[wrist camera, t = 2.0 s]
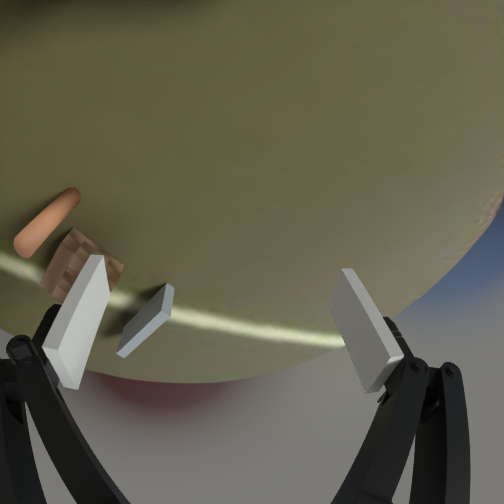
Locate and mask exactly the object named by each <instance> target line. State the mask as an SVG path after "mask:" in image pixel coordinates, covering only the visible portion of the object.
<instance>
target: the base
mask: <svg viewBox="0 0 504 504" xmlns="http://www.w3.org/2000/svg"><path fill="white" fill-rule="evenodd" d="M174 290H175V288H174V287H172V286H171V285H169V284H168V283H166V284H165V285H164V286H163V287H162V288H161V289H160V290H159V291H158V292H157V293H156V294H155V295H154V296H153V297H152V298H151V299H150V300H149V301H148V302H147V303H146V304H145V305H144V306H143V307H142V308H141V309H140V310H139V311H138V312H137V313H136V315H135V316H134V317H133V318H132V319H131V320H130V321H129V322H128V323H127V324H126V325H125V326H124V328H123V331H122V335H121V338H120V342H119V346H118V349H117V353H116V354H118V355H120V356H121V357H123V358H125V357H126V356H127V355H128V354H129V353H131V352H132V351H133V350H134V349H135V348H136V347H137V346H138V345H139V344H140V343H142V342H143V341H144V340H145V339H146V338H147V337H148V336H149V335H150V334H152V333H153V332H154V331H155V330H156V329H157V328H158V327H159V326H160V325H162V324H163V323H164V322H165V321H166V320H167V319H168V318H169V317H170V316H171V309H172V303H173V296H174Z"/></svg>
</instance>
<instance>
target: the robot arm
mask: <svg viewBox="0 0 504 504" xmlns="http://www.w3.org/2000/svg"><path fill="white" fill-rule="evenodd" d="M109 298H110V291H109V286H108V280H107V274H106V268H105V262H104V255H92V254H91V255H90V257H89V259H88V260H87V262H86V263H85V265H84V267H83V269H82V270H81V272H80V274H79V275H78V277H77V279H76V281H75V282H74V284H73V286H72V288H71V290H70V292H69V293H68V295H67V297H66V299H65V301H64V303H63V305H58V304H54V305H53V306H51V307H50V308H49V309H48V310H47V312H46V313H45V315H44V317H43V320H42V321H41V323H40V326H39V327H38V329H37V331H36V333H35V335H34V337H33V339H32V341H31V339H30V337H28V336H26V335H18V336H15V337H14V338H12V339H11V340H10V341H9V342H8V344H7V347H6V353H7V354H8V356H9V358H10V359H1V358H0V504H47V502H46V500H45V496H44V493H43V490H42V487H41V483H40V480H39V477H38V472H37V468H36V464H35V460H34V455H33V451H32V446H31V441H30V435H29V430H28V423H27V416H26V409H25V402H26V403H27V406H28V408H29V411H30V413H31V416H32V418H33V421H34V423H35V426H36V428H37V430H38V433H39V435H40V437H41V439H42V442H43V444H44V446H45V448H46V450H47V452H48V454H49V456H50V458H51V460H52V462H53V464H54V465H55V467H56V469H57V471H58V473H59V475H60V476H61V478H62V480H63V482H64V483H65V485H66V487H67V488H68V490H69V491H70V493H71V495H72V496H73V498H74V499H75V501H76V503H77V504H130V502H129V501H128V500H127V499H126V498H125V496H124V495H123V494H122V492H121V491H120V490H119V489H118V487H117V486H116V485H115V483H114V482H113V480H112V479H111V478H110V476H109V475H108V474H107V472H106V471H105V469H104V468H103V466H102V465H101V463H100V462H99V460H98V459H97V458H96V456H95V454H94V453H93V451H92V449H91V448H90V446H89V445H88V443H87V441H86V440H85V438H84V436H83V435H82V433H81V431H80V429H79V428H78V426H77V424H76V422H75V420H74V418H73V417H72V415H71V413H70V411H69V409H68V407H67V405H66V403H65V401H64V399H63V397H62V395H61V393H60V391H59V389H58V388H57V385H58V382H59V380H60V381H61V383H62V385H63V386H64V387H67V388H72V389H77V390H78V389H79V385H80V381H81V378H82V375H83V372H84V368H85V365H86V362H87V359H88V356H89V353H90V350H91V347H92V344H93V341H94V338H95V335H96V332H97V329H98V327H99V324H100V321H101V318H102V316H103V313H104V310H105V308H106V305H107V303H108V300H109ZM328 306H329V308H330V310H331V313H332V315H333V317H334V319H335V322H336V324H337V326H338V329H339V331H340V333H341V336H342V338H343V340H344V343H345V345H346V347H347V350H348V352H349V354H350V356H351V359H352V362H353V364H354V366H355V369H356V371H357V374H358V376H359V379H360V381H361V383H362V386H363V388H364V391H365V393H371V392H377V391H379V390H380V388H381V387H382V386H383V385H385V388H386V391H385V392H384V393H383V395H382V396H381V397H380V398H379V400H378V401H377V402H378V403H379V402H380V401H381V402H380V404H379V407H378V409H377V412H376V414H375V417H374V419H373V422H372V424H371V426H370V429H369V431H368V433H367V435H366V438H365V440H364V442H363V444H362V446H361V448H360V450H359V453H358V455H357V457H356V459H355V461H354V463H353V465H352V467H351V469H350V471H349V472H348V474H347V476H346V478H345V480H344V482H343V483H342V485H341V487H340V489H339V491H338V493H337V494H336V496H335V497H334V499H333V501H332V502H331V504H393V503H392V497H393V495H394V493H395V490H396V487H397V485H398V483H399V480H400V478H401V475H402V472H403V470H404V467H405V464H406V461H407V458H408V455H409V452H410V449H411V446H412V443H413V439H414V436H415V453H414V466H413V476H412V485H411V494H410V500H409V504H469V502H470V443H469V428H468V418H467V409H466V401H465V393H464V387H463V381H462V375H461V371H460V369H459V368H458V367H457V366H456V365H455V364H453V363H451V362H445V363H444V364H443V365H442V366H441V367H440V368H433V367H428V365H427V363H426V362H425V361H423V360H422V359H420V358H417V357H414V356H413V354H412V352H411V351H410V349H409V347H408V345H407V344H406V342H405V340H404V338H402V335H401V333H400V332H399V331H398V329H397V327H396V325H395V323H394V322H393V321H391V320H390V319H389V318H388V317H382V316H381V314H380V312H379V311H378V309H377V307H376V306H375V304H374V302H373V301H372V299H371V297H370V296H369V294H368V292H367V291H366V289H365V288H364V286H363V284H362V283H361V281H360V280H359V278H358V277H357V275H356V273H355V272H354V270H353V269H342V268H341V270H340V273H339V276H338V279H337V282H336V285H335V288H334V291H333V293H332V296H331V299H330V302H329V304H328ZM415 433H416V435H415Z"/></svg>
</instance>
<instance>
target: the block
mask: <svg viewBox="0 0 504 504" xmlns="http://www.w3.org/2000/svg"><path fill="white" fill-rule="evenodd" d="M91 254H92V255H104V262H105V268H106V274H107V280H108V286H109V291H110V292H111V291H112V289H113V288H114V287H115V286H116V284H117V281H118V279H119V277H120V274H121V272H122V269H123V267H124V265H123V264H121V263H120V262H119V261H117V260H116V259H115V258H113V257H112V256H111V255H109V254H108V253H107V252H105V251H104V250H103V249H101V248H100V247H99V246H97V245H96V244H95V243H93V242H92V241H91V240H90V239H88V238H87V237H86V236H84V235H83V234H82V233H81V232H79V231H78V230H77V229H76V228H74V227H73V229H72V230H71V231H70V232H69V233H68V235H67V236H66V237H65V238H64V240H63V241H62V242H61V244H60V245H59V247H58V249H57V251H56V253H55V255H54V256H53V258H52V260H51V262H50V264H49V266H48V268H47V270H46V272H45V274H44V276H43V278H42V280H41V282H40V286H41V287H42V288H44V289H45V290H46V291H48V292H49V293H50V294H52V295H53V296H54V297H56V298H57V299H58V300H60V301H61V302H63V303H64V301H65V299H66V297H67V295H68V293H69V292H70V290H71V288H72V286H73V284H74V282H75V281H76V279H77V277H78V275H79V274H80V272H81V270H82V269H83V267H84V265H85V263H86V262H87V260H88V259H89V257H90V255H91Z"/></svg>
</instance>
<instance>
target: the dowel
mask: <svg viewBox="0 0 504 504" xmlns="http://www.w3.org/2000/svg"><path fill="white" fill-rule="evenodd" d="M80 199H81V197H80V193H79V191H78V190H77V189H75V188H68V189H67V190H65V191H64V192H63V193H62V194H61V195H60V196H58V197H57V198H56V199H55V200H54V201H53V202H52V203H51V204H49V205H48V206H47V207H46V208H45V209H44V210H43V211H42V212H41V213H40V214H38V215H37V216H36V217H35V218H34V219H33V220H32V221H31V222H30V223H29V224H28V225H27V226H26V227H25V228H24V229H23V230H22V231H21V232H20V233H19V234H18V235H17V236H16V237H15V238H14V248H15V250H16V252H17V253H18V254H19V255H20V256H21V257H23V258H30V257H31V256H32V255H33V253H34V252H35V251H36V250H37V249H38V247H39V246H40V245H41V244H42V243H43V242H44V240H45V239H46V238H47V237H48V236H49V235H50V233H51V232H52V231H53V230H54V229H55V228H56V227H57V226H58V225H59V223H60V222H61V221H62V220H63V219H64V218H65V217H66V216H67V215H68V214H69V213H70V212H71V211H72V210H73V209H74V208H75V207H76V206H77V205H78V204H79V202H80Z"/></svg>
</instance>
